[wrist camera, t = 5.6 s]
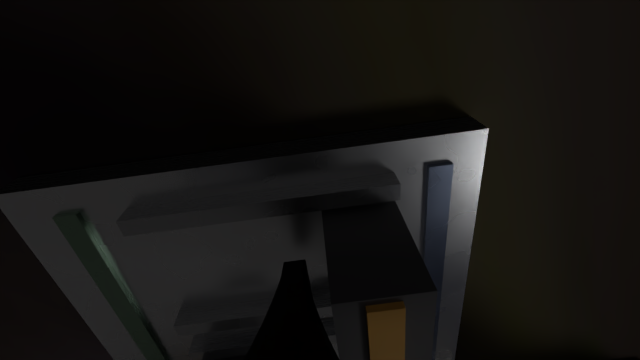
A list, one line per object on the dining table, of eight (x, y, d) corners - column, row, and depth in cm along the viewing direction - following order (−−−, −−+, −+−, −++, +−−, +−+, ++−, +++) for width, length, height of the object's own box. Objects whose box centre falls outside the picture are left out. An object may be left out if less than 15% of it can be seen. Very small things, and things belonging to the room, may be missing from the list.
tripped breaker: (393, 197, 11) (440, 298, 7) (394, 280, 13) (431, 392, 9) (321, 207, 11) (331, 311, 7) (332, 288, 13) (345, 402, 9)
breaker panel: (470, 116, 11) (502, 138, 9) (435, 424, 22) (446, 460, 20) (18, 177, 11) (-32, 209, 10) (204, 452, 22) (196, 490, 20)
